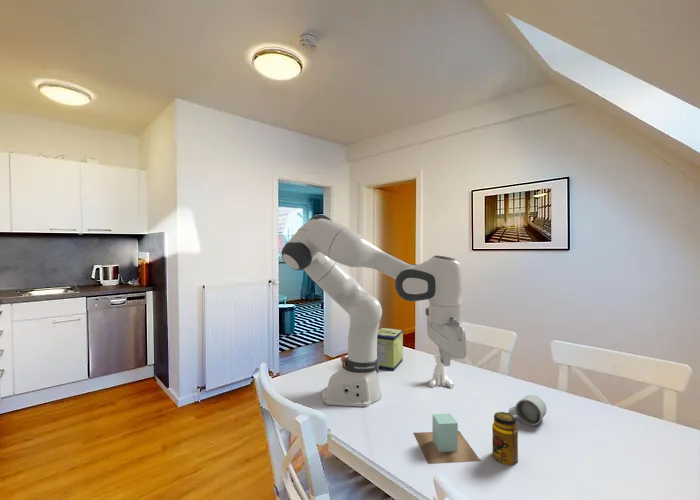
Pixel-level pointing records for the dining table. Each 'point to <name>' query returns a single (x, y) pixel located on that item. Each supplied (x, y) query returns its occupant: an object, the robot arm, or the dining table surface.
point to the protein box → (389, 348)
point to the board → (434, 456)
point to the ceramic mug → (529, 410)
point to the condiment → (505, 439)
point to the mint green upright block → (445, 432)
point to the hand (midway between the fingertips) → (445, 364)
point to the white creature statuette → (440, 375)
